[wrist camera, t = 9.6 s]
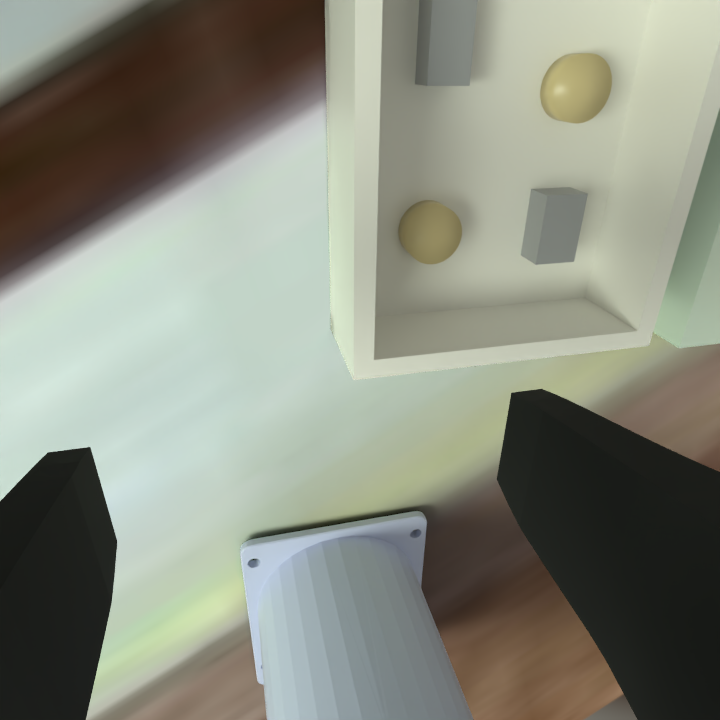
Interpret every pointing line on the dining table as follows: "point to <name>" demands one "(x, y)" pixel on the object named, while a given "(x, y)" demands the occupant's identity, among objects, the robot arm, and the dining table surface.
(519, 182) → the parts tub
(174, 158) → the dining table surface
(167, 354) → the dining table surface
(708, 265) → the lid
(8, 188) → the dining table surface
